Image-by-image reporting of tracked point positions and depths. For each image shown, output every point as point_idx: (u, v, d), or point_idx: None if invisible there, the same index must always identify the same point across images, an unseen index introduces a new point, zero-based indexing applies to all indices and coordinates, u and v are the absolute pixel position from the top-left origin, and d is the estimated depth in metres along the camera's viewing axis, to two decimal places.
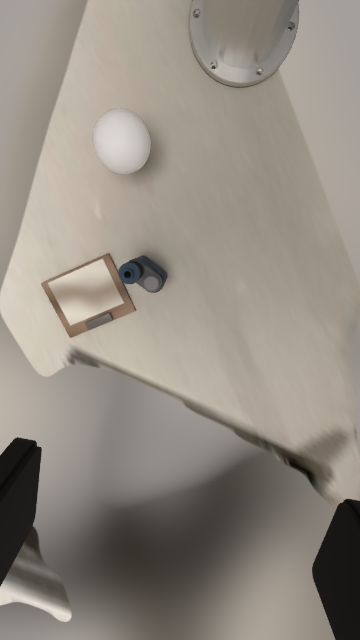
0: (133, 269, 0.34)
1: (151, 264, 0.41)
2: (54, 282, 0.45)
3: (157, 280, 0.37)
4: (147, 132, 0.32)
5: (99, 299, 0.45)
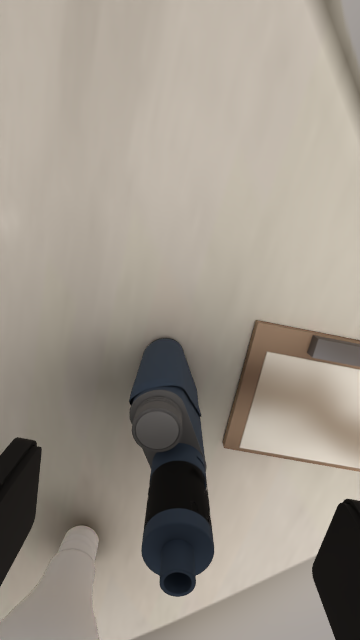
0: (156, 554, 0.10)
1: None
2: (353, 463, 0.21)
3: (135, 427, 0.12)
4: None
5: (305, 386, 0.20)
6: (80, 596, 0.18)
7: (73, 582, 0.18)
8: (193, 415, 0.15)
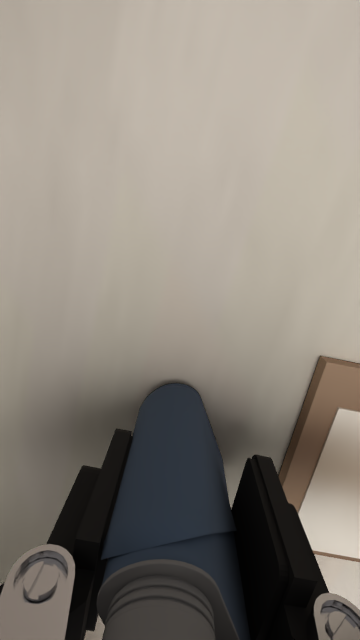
0: None
1: None
2: None
3: None
4: None
5: None
6: None
7: None
8: (229, 562, 0.08)
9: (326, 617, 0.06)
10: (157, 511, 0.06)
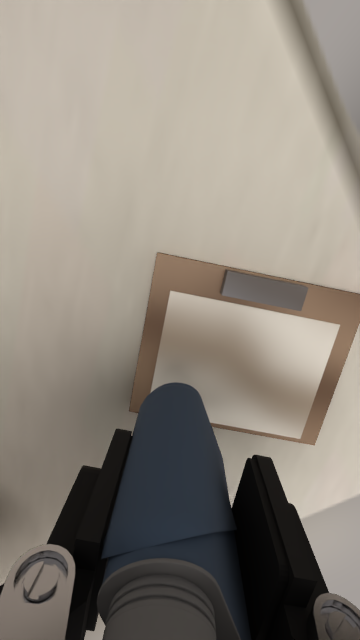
0: None
1: None
2: (285, 430, 0.18)
3: None
4: None
5: (221, 335, 0.16)
6: None
7: None
8: (229, 561, 0.08)
9: (326, 617, 0.06)
10: (157, 510, 0.06)
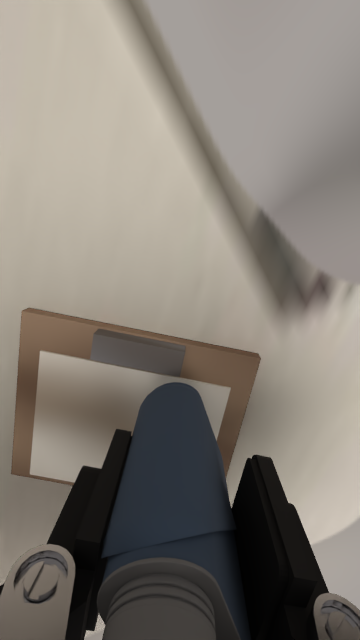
0: None
1: None
2: None
3: None
4: None
5: (102, 397, 0.15)
6: None
7: None
8: (229, 561, 0.08)
9: (326, 617, 0.06)
10: (157, 509, 0.06)
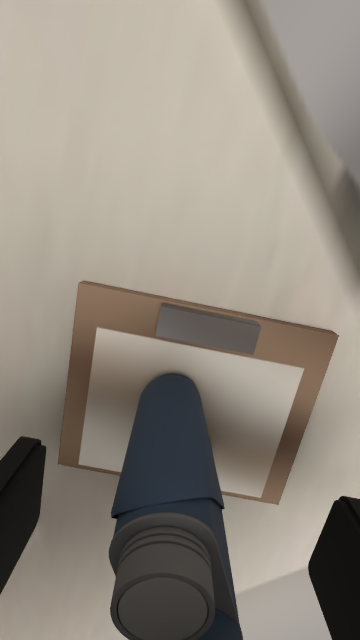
0: None
1: None
2: (242, 488, 0.15)
3: (118, 602, 0.06)
4: None
5: None
6: None
7: None
8: (220, 529, 0.09)
9: None
10: (165, 475, 0.07)
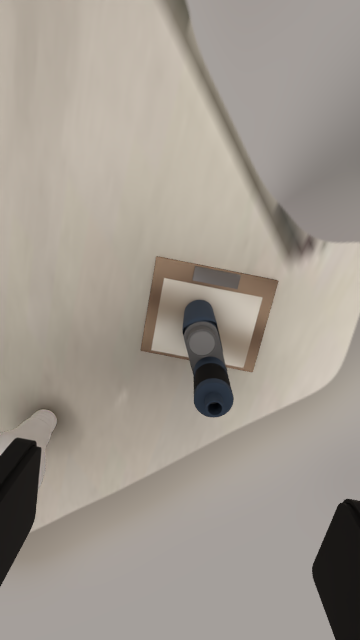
0: (202, 400, 0.18)
1: None
2: (234, 362, 0.30)
3: (189, 340, 0.20)
4: None
5: None
6: (34, 436, 0.27)
7: (31, 430, 0.27)
8: None
9: None
10: (201, 315, 0.22)
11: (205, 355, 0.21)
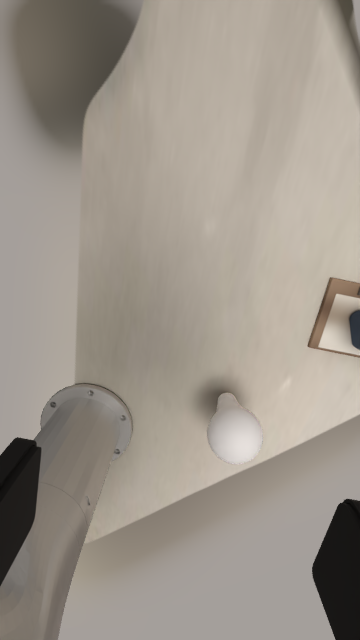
0: None
1: None
2: None
3: None
4: (210, 430, 0.34)
5: None
6: None
7: None
8: None
9: None
10: None
11: None
